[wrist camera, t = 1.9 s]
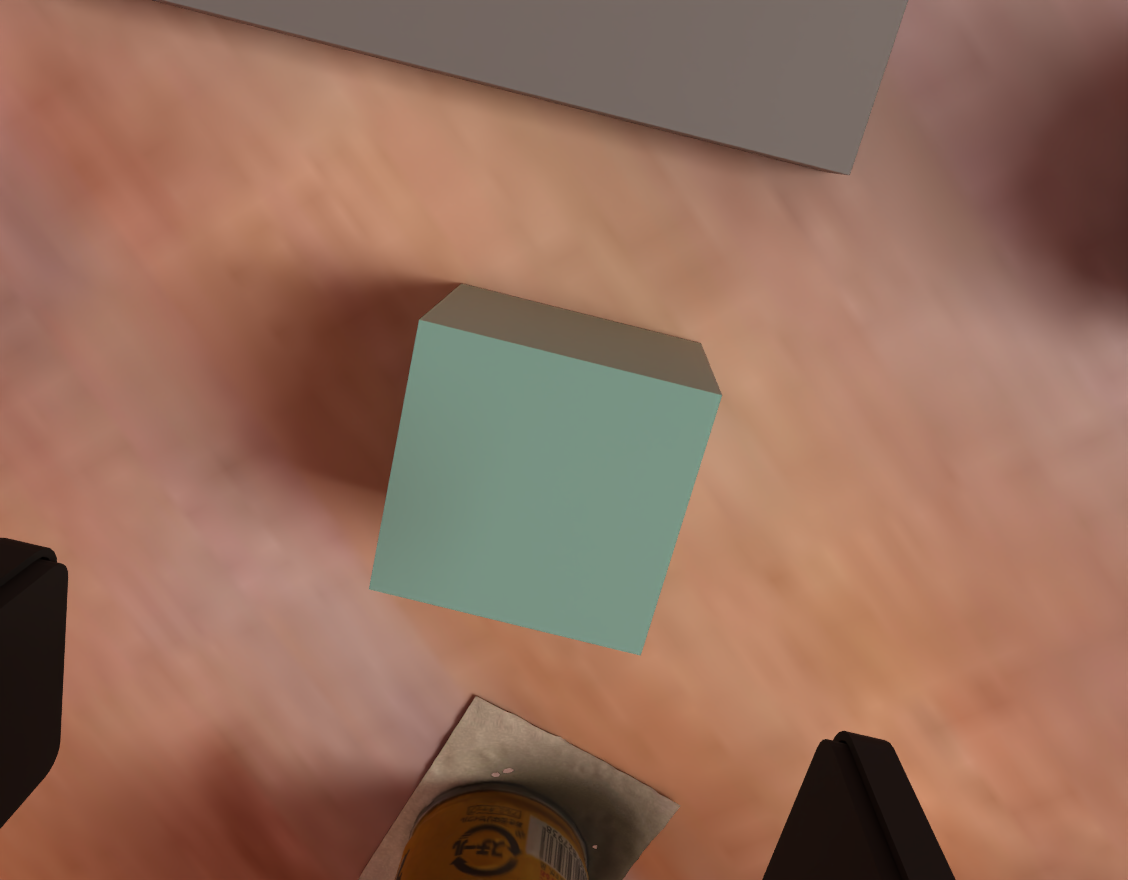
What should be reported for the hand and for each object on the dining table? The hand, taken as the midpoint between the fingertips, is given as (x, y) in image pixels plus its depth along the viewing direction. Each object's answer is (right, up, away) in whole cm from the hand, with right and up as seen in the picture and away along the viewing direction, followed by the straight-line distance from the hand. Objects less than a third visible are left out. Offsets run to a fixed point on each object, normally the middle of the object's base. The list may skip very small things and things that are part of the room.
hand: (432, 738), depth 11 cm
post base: (-1, +20, +8) cm, 22 cm away
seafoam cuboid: (+1, +4, +13) cm, 14 cm away
